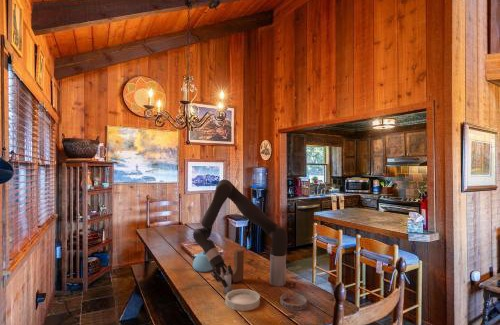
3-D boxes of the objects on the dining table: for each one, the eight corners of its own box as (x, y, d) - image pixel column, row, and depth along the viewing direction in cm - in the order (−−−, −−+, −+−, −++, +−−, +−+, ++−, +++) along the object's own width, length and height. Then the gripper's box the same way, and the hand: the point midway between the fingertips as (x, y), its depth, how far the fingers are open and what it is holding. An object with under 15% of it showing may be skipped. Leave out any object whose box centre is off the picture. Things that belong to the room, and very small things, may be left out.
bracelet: (275, 305, 142) (275, 299, 142) (287, 295, 154) (287, 290, 154) (300, 314, 135) (300, 307, 135) (311, 302, 146) (311, 296, 146)
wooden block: (229, 283, 167) (230, 252, 167) (226, 280, 171) (227, 250, 171) (243, 280, 171) (244, 250, 171) (240, 278, 175) (240, 248, 175)
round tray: (241, 291, 157) (241, 286, 157) (266, 301, 146) (266, 295, 146) (218, 302, 143) (218, 296, 143) (244, 314, 133) (244, 308, 133)
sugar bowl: (211, 274, 182) (211, 255, 182) (188, 271, 185) (189, 253, 185) (218, 265, 196) (218, 249, 196) (197, 264, 199) (198, 247, 199)
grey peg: (227, 289, 159) (227, 273, 159) (232, 291, 156) (233, 275, 156) (221, 292, 156) (221, 275, 156) (227, 294, 153) (227, 277, 153)
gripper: (208, 257, 155) (224, 286, 147) (227, 251, 166) (242, 278, 158) (202, 264, 159) (216, 293, 151) (220, 258, 170) (235, 284, 162)
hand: (229, 285), depth 155 cm, fingers closed on grey peg, 4 cm apart
